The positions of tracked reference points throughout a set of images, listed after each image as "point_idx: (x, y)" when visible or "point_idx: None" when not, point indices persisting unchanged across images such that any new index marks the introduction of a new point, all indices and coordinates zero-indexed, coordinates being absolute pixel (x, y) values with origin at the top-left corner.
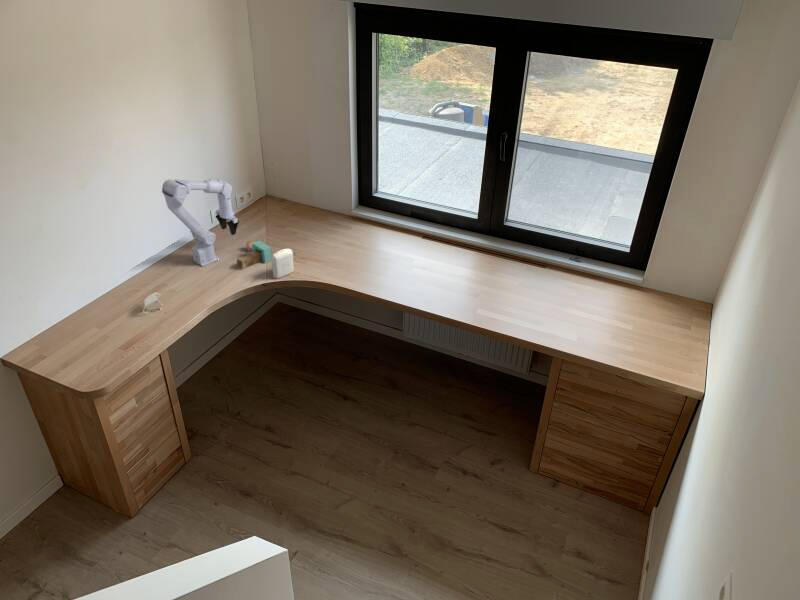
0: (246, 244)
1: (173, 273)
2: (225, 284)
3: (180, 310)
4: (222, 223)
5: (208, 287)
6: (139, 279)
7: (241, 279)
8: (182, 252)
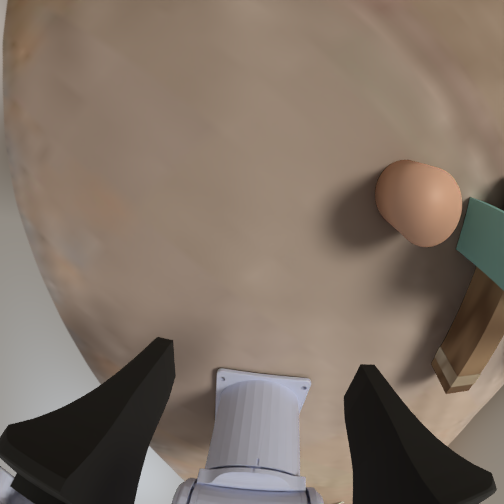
0: (410, 239)
1: None
2: (433, 428)
3: None
4: (145, 428)
5: None
6: None
7: (471, 390)
8: None
